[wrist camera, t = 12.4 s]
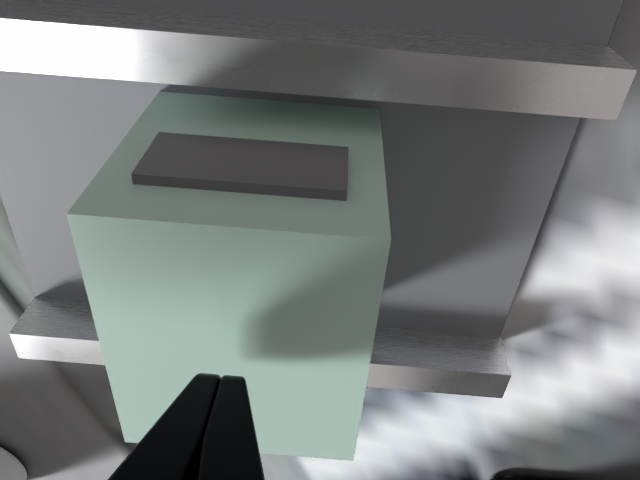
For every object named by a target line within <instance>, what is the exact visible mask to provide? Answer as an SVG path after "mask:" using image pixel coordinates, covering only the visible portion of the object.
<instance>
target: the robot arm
mask: <svg viewBox="0 0 640 480" xmlns="http://www.w3.org/2000/svg"><path fill="white" fill-rule="evenodd" d="M108 480H265V478H264V473H263V468H262V463H261V457H260V452H259V447H258V442H257V436H256V431H255V426H254V421H253V415H252V410H251V405H250V400H249V395H248V389H247V384H246V380H245V378H244V377H242V376H232V375H224V376H222V377H220V375H217V374H208V373H199V374H197V375H195V376H194V377H193V378H192V380H191V381H190V382H189V383H188V384H187V386H186V387H185V388H184V389H183V390H182V392H181V393H180V394H179V395H178V396H177V398H176V399H175V400H174V401H173V402H172V404H171V405H170V406H169V407H168V408H167V410H166V411H165V412H164V413H163V414H162V415H161V417H160V418H159V419H158V420H157V421H156V423H155V424H154V425H153V426H152V427H151V429H150V430H149V431H148V432H147V433H146V435H145V436H144V437H143V438H142V439H141V441H140V442H139V443H138V444H137V445H136V447H135V448H134V449H133V450H132V451H131V452H130V454H129V455H128V456H127V457H126V458H125V460H124V461H123V462H122V463H121V464H120V466H119V467H118V468H117V469H116V470H115V472H114V473H113V474H112V475H111V476H110V478H109V479H108ZM492 480H528V479H516V478H504V477H500V478H494V479H492Z"/></svg>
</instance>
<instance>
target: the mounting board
mask: <svg viewBox="0 0 640 480" xmlns="http://www.w3.org/2000/svg"><path fill="white" fill-rule="evenodd" d="M623 2H624V0H0V194H1V197H2V200H3V203H4V206H5V210H6V213H7V216H8V219H9V222H10V225H11V228H12V231H13V234H14V237H15V240H16V243H17V246H18V249H19V252H20V255H21V258H22V261H23V264H24V267H25V270H26V273H27V276H28V279H29V282H30V285H31V288H32V291H33V295H34V299H33V300H32V301H31V303H30V304H29V306H28V307H27V309H26V310H25V312H24V313H23V314H22V316H21V317H20V319H19V320H18V322H17V323H16V325H15V326H14V327H13V329H12V330H11V332H10V333H9V334H10V337H11V340H12V342H13V345H14V347H15V350H16V353H17V355H18V358H25V359H37V360H49V361H61V362H74V363H86V364H98V365H105V363H104V359H103V355H102V351H101V347H100V343H99V339H98V335H97V331H96V327H95V323H94V320H93V316H92V312H91V308H90V304H89V300H88V296H87V292H86V288H85V284H84V280H83V277H82V273H81V269H80V265H79V261H78V257H77V253H76V249H75V245H74V241H73V237H72V234H71V230H70V226H69V222H68V218H67V213H68V211H69V210H70V209H71V207H72V206H73V205H74V203H75V202H76V201H77V199H78V198H79V197H80V195H81V194H82V193H83V191H84V190H85V189H86V187H87V186H88V185H89V184H90V182H91V181H92V180H93V178H94V177H95V176H96V174H97V173H98V172H99V170H100V169H101V168H102V166H103V165H104V164H105V162H106V161H107V160H108V158H109V157H110V156H111V155H112V153H113V152H114V151H115V149H116V148H117V147H118V145H119V144H120V143H121V141H122V140H123V139H124V137H125V136H126V135H127V133H128V132H129V131H130V129H131V128H132V127H133V125H134V124H135V123H136V122H137V120H138V119H139V118H140V116H141V115H142V114H143V112H144V111H145V110H146V108H147V107H148V106H149V104H150V103H151V102H152V100H153V99H154V98H155V96H156V95H157V94H158V93H159V91H160V92H173V93H185V94H198V95H211V96H223V97H236V98H249V99H262V100H274V101H287V102H300V103H313V104H325V105H338V106H351V107H364V108H376V109H380V120H381V131H382V142H383V153H384V164H385V176H386V187H387V198H388V209H389V220H390V232H391V244H390V250H389V256H388V261H387V267H386V273H385V279H384V285H383V291H382V296H381V302H380V308H379V314H378V320H377V325H376V331H375V337H374V343H373V349H372V354H371V360H370V366H369V372H368V378H367V384H366V387H375V388H387V389H399V390H411V391H423V392H435V393H447V394H459V395H471V396H483V397H496V398H502V397H503V394H504V392H505V390H506V387H507V385H508V382H509V380H510V377H511V372H510V369H509V365H508V362H507V358H506V355H505V351H504V348H503V345H502V341H501V338H500V334H501V332H502V329H503V326H504V323H505V321H506V318H507V315H508V313H509V310H510V307H511V304H512V302H513V299H514V296H515V294H516V291H517V288H518V286H519V283H520V280H521V277H522V275H523V272H524V269H525V267H526V264H527V261H528V259H529V256H530V253H531V250H532V248H533V245H534V242H535V240H536V237H537V234H538V231H539V229H540V226H541V223H542V221H543V218H544V215H545V213H546V210H547V207H548V204H549V202H550V199H551V196H552V194H553V191H554V188H555V186H556V183H557V180H558V177H559V175H560V172H561V169H562V167H563V164H564V161H565V158H566V156H567V153H568V150H569V148H570V145H571V142H572V140H573V137H574V134H575V131H576V129H577V126H578V123H579V121H580V118H593V119H605V120H617V118H618V116H619V113H620V111H621V108H622V106H623V104H624V101H625V99H626V96H627V94H628V92H629V89H630V87H631V84H632V82H633V79H634V77H635V75H636V72H637V69H635V68H634V67H633V66H632V65H631V64H630V63H628V62H627V61H626V60H625V59H624V58H622V57H621V56H620V55H619V54H618V53H616V52H615V51H614V50H613V49H612V48H610V47H609V46H608V42H609V40H610V37H611V34H612V31H613V29H614V26H615V23H616V21H617V18H618V15H619V13H620V10H621V7H622V4H623Z"/></svg>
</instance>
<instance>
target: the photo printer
mask: <svg viewBox="0 0 640 480" xmlns="http://www.w3.org/2000/svg"><path fill="white" fill-rule="evenodd" d="M26 479H27V473H26V470H25V468H24V466H23V465H22V464H21V462H20V461H19V460H18V459H17V458H16V457H15V456H13V455H12V454H11V453H9V452H8V451H6V450H5V449H3V448H1V447H0V480H26Z"/></svg>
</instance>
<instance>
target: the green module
mask: <svg viewBox="0 0 640 480" xmlns="http://www.w3.org/2000/svg"><path fill="white" fill-rule="evenodd" d="M67 218H68V222H69V226H70V230H71V234H72V237H73V241H74V245H75V249H76V253H77V257H78V261H79V265H80V269H81V273H82V277H83V280H84V284H85V288H86V292H87V296H88V300H89V304H90V308H91V312H92V316H93V320H94V323H95V327H96V331H97V335H98V339H99V343H100V347H101V351H102V355H103V359H104V363H105V366H106V370H107V374H108V378H109V382H110V386H111V390H112V394H113V398H114V402H115V406H116V409H117V413H118V417H119V421H120V425H121V429H122V433H123V437H124V441H125V442H131V443H139V442H140V441H141V439H142V438H143V437H144V436H145V435H146V433H147V432H148V431H149V430H150V429H151V427H152V426H153V425H154V424H155V423H156V421H157V420H158V419H159V418H160V417H161V415H162V414H163V413H164V412H165V411H166V410H167V408H168V407H169V406H170V405H171V404H172V402H173V401H174V400H175V399H176V398H177V396H178V395H179V394H180V393H181V392H182V390H183V389H184V388H185V387H186V386H187V384H188V383H189V382H190V381H191V380H192V378H193V377H194V376H195V375H197V374H199V373H208V374H217V375H220V377H222V376H224V375H232V376H242V377H244V378H245V380H246V384H247V389H248V395H249V400H250V405H251V410H252V415H253V421H254V426H255V431H256V436H257V442H258V447H259V452H260V453H266V454H278V455H290V456H303V457H315V458H327V459H339V460H352V461H353V459H354V453H355V448H356V442H357V436H358V430H359V424H360V418H361V413H362V407H363V401H364V395H365V389H366V384H367V378H368V372H369V366H370V360H371V354H372V349H373V343H374V337H375V331H376V325H377V320H378V314H379V308H380V302H381V296H382V291H383V285H384V279H385V273H386V267H387V261H388V256H389V250H390V244H391V232H390V220H389V209H388V198H387V187H386V176H385V164H384V153H383V142H382V131H381V120H380V109H376V108H364V107H351V106H338V105H325V104H313V103H300V102H287V101H274V100H262V99H249V98H236V97H223V96H211V95H198V94H185V93H173V92H160V91H159V93H158V94H157V95H156V96H155V98H154V99H153V100H152V102H151V103H150V104H149V106H148V107H147V108H146V110H145V111H144V112H143V114H142V115H141V116H140V118H139V119H138V120H137V122H136V123H135V124H134V125H133V127H132V128H131V129H130V131H129V132H128V133H127V135H126V136H125V137H124V139H123V140H122V141H121V143H120V144H119V145H118V147H117V148H116V149H115V151H114V152H113V153H112V155H111V156H110V157H109V158H108V160H107V161H106V162H105V164H104V165H103V166H102V168H101V169H100V170H99V172H98V173H97V174H96V176H95V177H94V178H93V180H92V181H91V182H90V184H89V185H88V186H87V187H86V189H85V190H84V191H83V193H82V194H81V195H80V197H79V198H78V199H77V201H76V202H75V203H74V205H73V206H72V207H71V209H70V210H69V211H68V213H67Z"/></svg>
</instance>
